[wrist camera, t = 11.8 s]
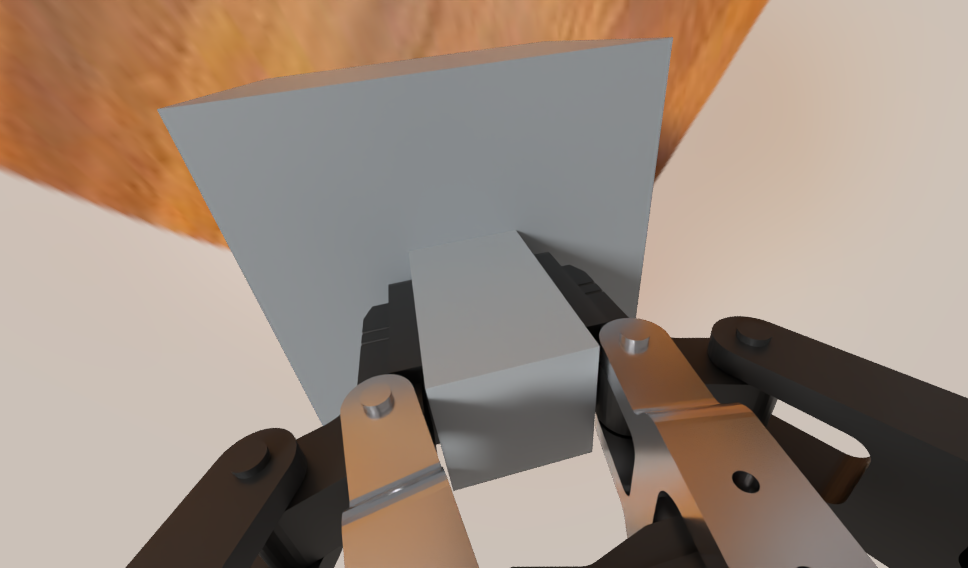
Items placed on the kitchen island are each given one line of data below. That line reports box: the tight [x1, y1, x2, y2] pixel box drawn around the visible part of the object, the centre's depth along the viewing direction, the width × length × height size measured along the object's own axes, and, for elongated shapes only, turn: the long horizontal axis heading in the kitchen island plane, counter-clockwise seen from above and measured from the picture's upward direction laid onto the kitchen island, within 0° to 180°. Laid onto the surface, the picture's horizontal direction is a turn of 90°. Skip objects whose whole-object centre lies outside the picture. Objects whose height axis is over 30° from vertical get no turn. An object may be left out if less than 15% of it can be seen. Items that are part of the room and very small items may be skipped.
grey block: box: [157, 37, 673, 491], centre depth 13 cm, size 11×11×14 cm
